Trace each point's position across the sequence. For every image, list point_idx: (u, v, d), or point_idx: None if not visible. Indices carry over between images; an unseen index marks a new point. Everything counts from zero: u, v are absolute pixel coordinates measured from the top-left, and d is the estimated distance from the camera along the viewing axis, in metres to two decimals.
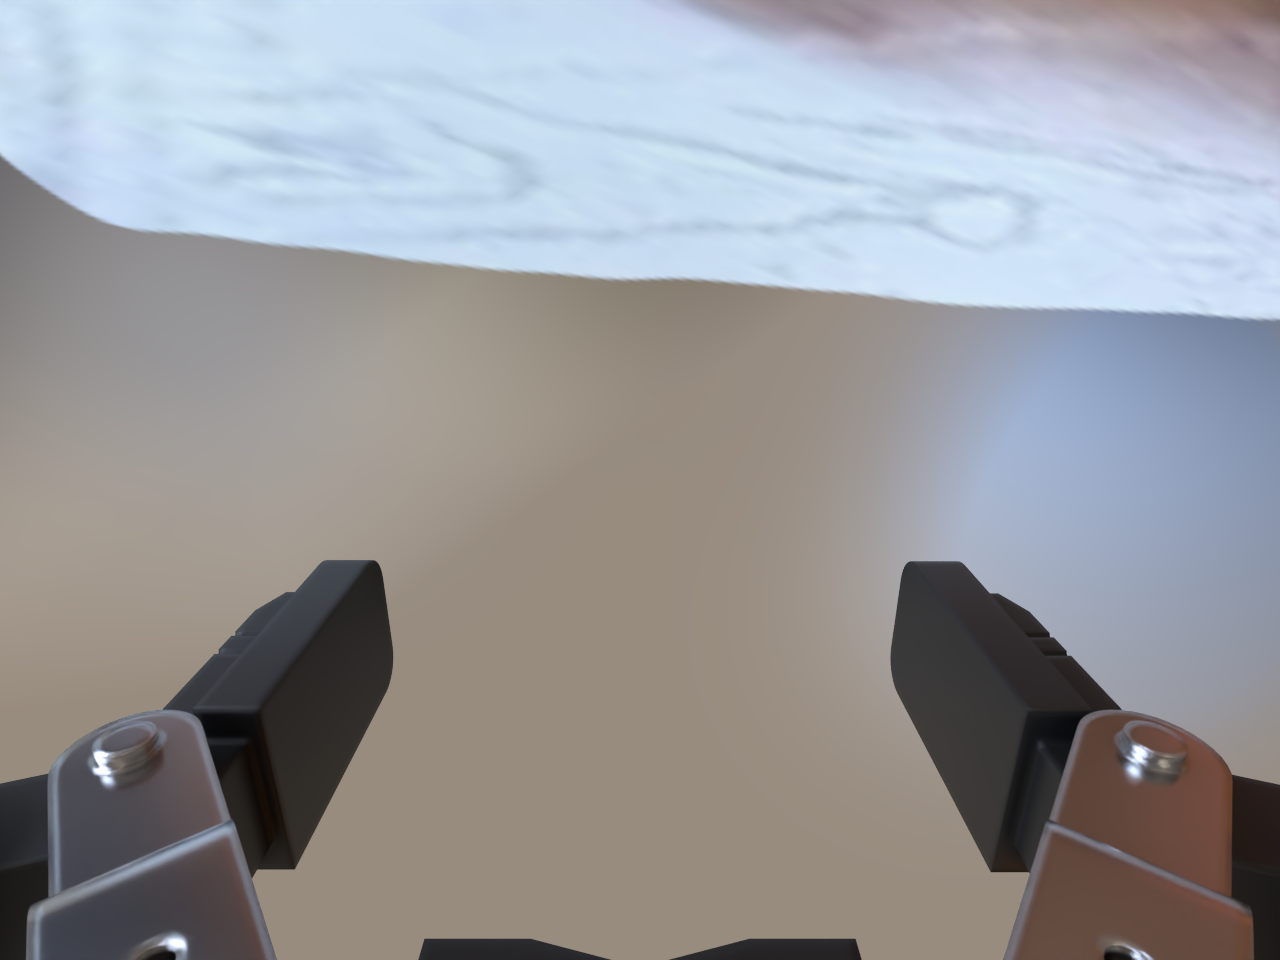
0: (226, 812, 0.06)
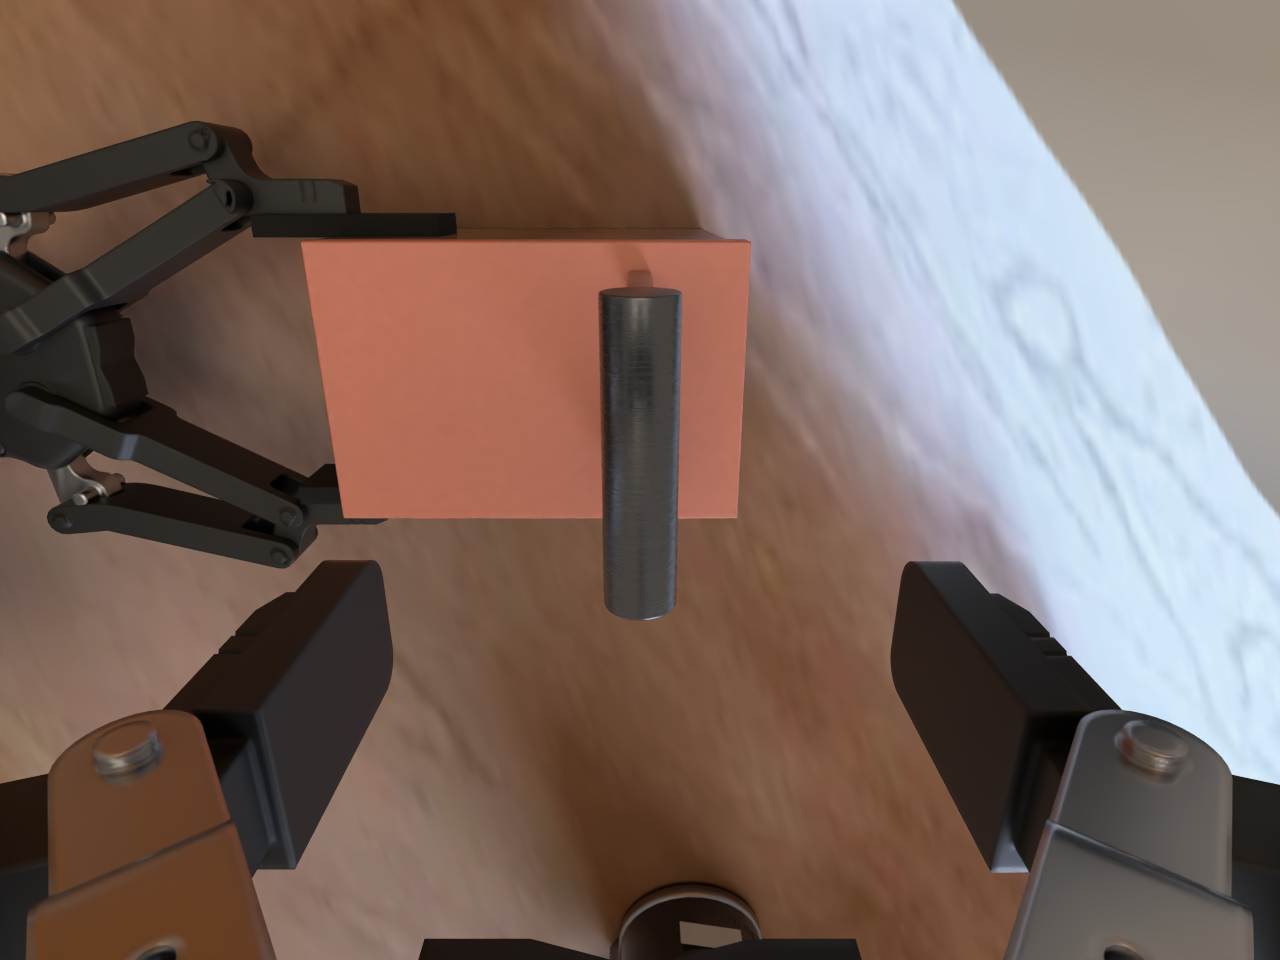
0: (226, 812, 0.06)
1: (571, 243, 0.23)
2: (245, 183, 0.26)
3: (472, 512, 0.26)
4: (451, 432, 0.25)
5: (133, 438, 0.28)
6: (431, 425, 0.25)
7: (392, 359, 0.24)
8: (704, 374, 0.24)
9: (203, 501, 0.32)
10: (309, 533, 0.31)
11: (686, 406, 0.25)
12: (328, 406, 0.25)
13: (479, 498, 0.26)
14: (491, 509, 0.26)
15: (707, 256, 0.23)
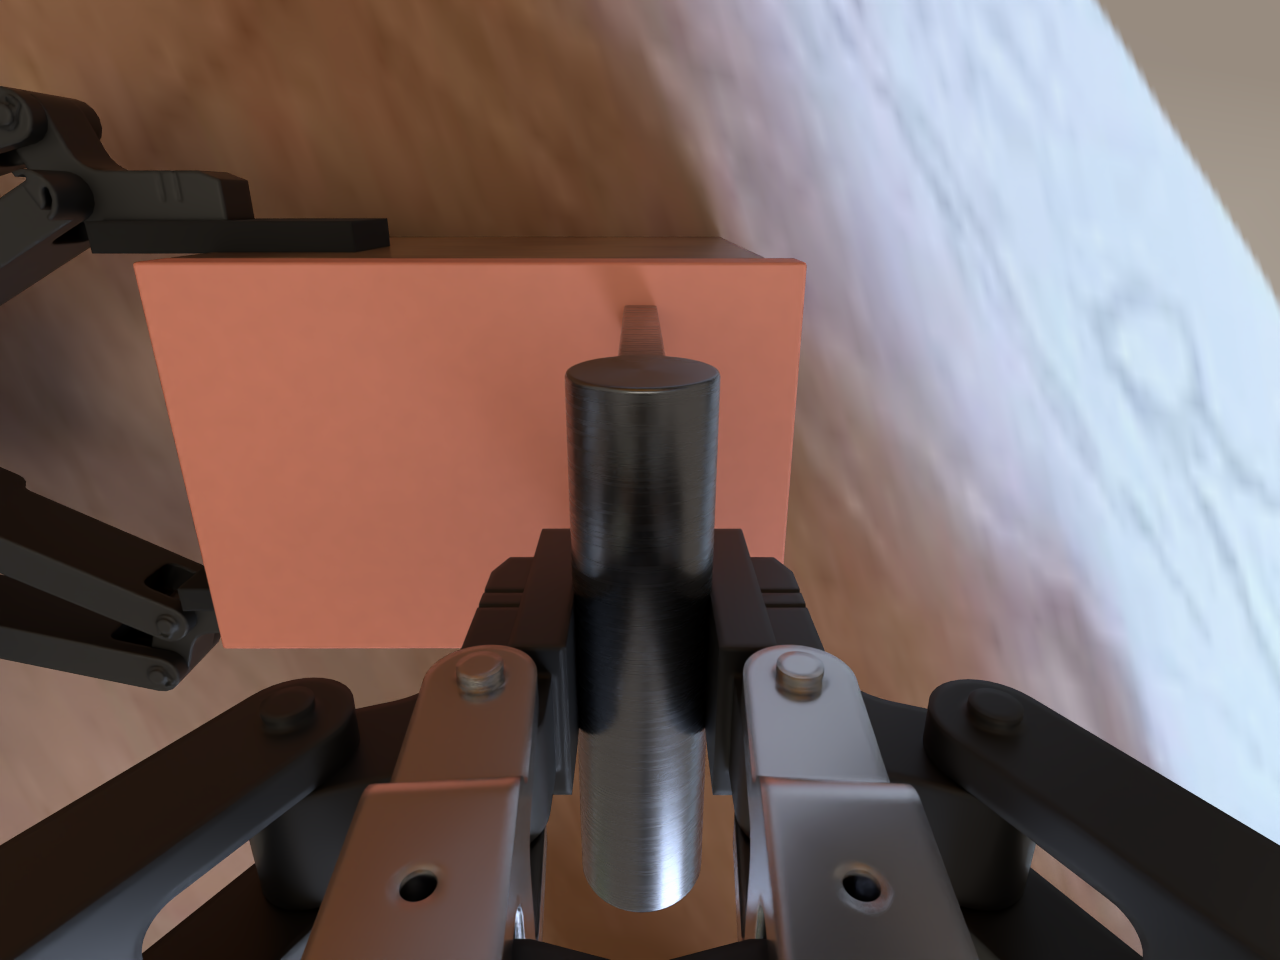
0: (527, 763, 0.07)
1: (538, 265, 0.15)
2: (80, 177, 0.18)
3: (404, 640, 0.19)
4: (370, 534, 0.17)
5: None
6: (341, 524, 0.17)
7: (279, 433, 0.17)
8: (734, 454, 0.17)
9: None
10: (203, 640, 0.24)
11: None
12: (191, 497, 0.17)
13: (413, 622, 0.18)
14: (431, 636, 0.19)
15: (741, 284, 0.15)
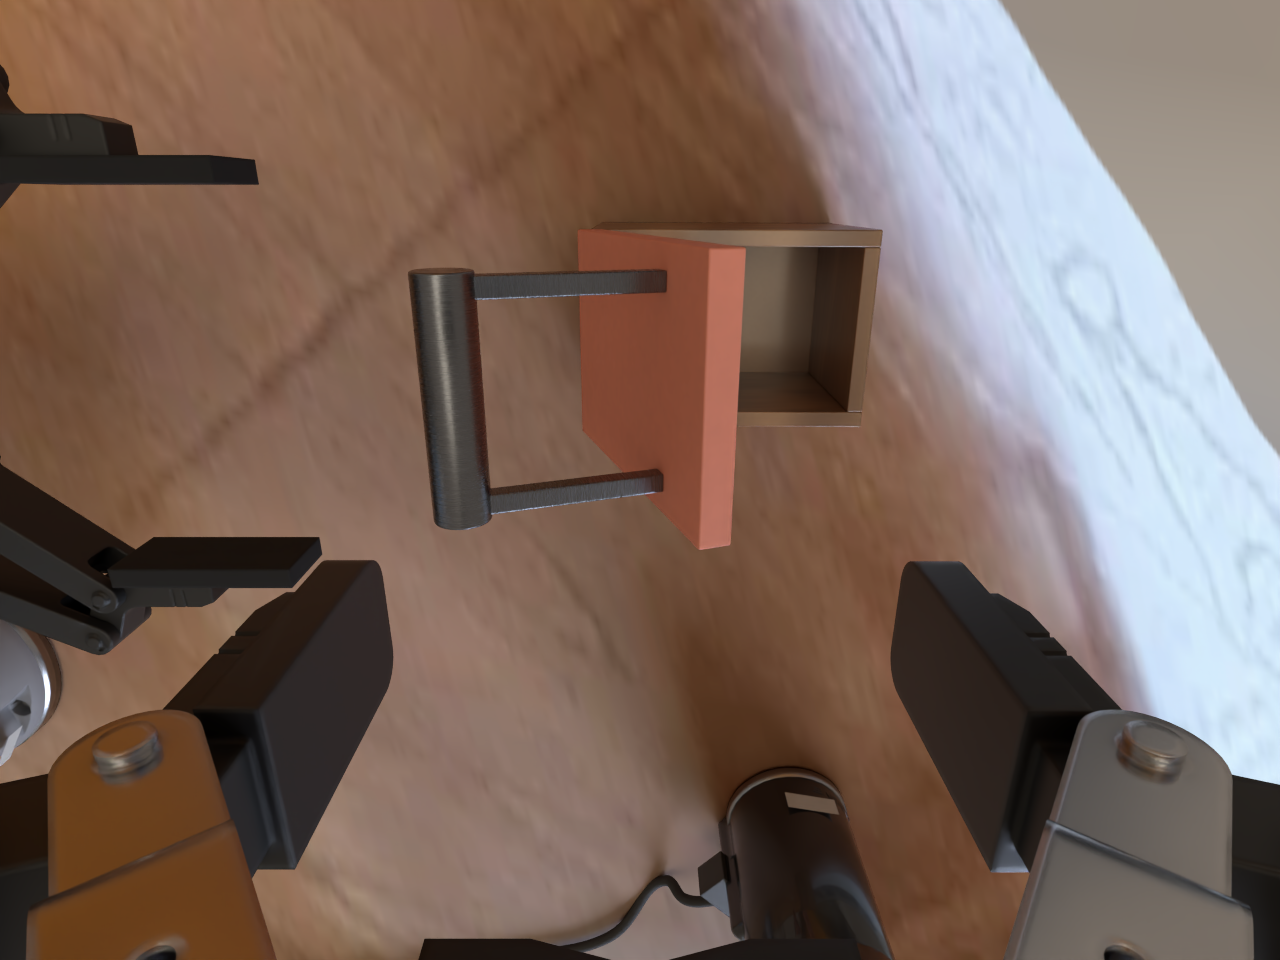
0: (227, 812, 0.06)
1: (640, 240, 0.26)
2: None
3: (610, 455, 0.32)
4: (606, 386, 0.32)
5: None
6: (601, 377, 0.32)
7: (594, 321, 0.32)
8: (686, 384, 0.23)
9: None
10: (134, 614, 0.29)
11: (678, 413, 0.24)
12: None
13: (612, 445, 0.32)
14: (615, 457, 0.32)
15: (689, 260, 0.22)
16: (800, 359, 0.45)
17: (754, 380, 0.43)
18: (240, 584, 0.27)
